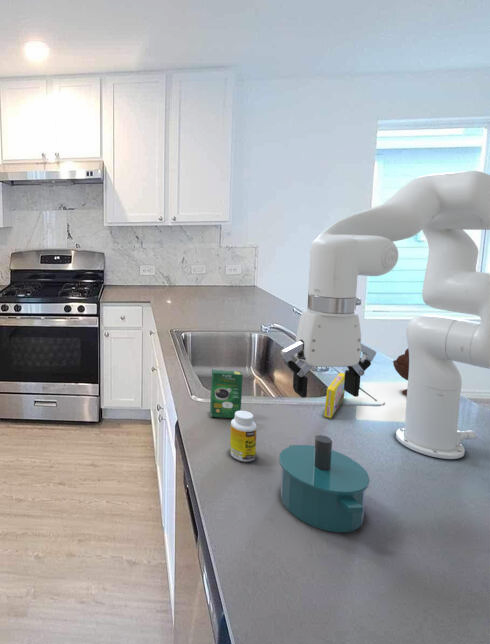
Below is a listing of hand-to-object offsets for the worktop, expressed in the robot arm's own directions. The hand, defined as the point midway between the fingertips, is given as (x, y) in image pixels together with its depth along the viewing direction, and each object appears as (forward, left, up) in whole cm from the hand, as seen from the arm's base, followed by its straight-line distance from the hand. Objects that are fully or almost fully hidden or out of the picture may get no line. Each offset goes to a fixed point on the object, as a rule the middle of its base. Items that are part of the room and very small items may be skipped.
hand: (325, 394), depth 76 cm
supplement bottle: (+8, -16, -22) cm, 29 cm away
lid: (0, +1, -15) cm, 15 cm away
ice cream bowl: (-57, -45, -22) cm, 76 cm away
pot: (0, +1, -22) cm, 22 cm away
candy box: (-28, -38, -22) cm, 52 cm away
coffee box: (+5, -35, -22) cm, 42 cm away
